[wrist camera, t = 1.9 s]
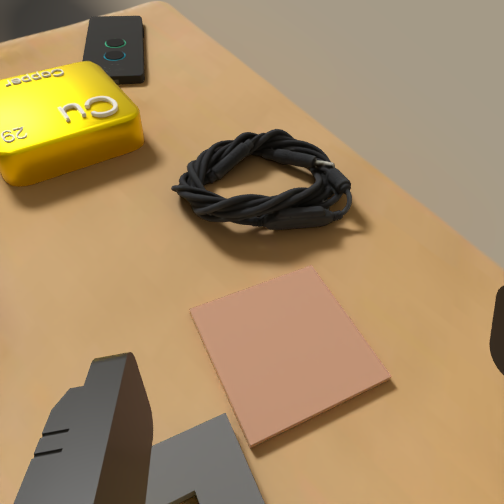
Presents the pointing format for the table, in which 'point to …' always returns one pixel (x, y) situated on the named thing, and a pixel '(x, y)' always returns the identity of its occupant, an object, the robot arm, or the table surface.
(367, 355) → the terracotta tile
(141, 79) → the smart home device
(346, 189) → the cable
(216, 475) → the socket block
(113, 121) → the element tile
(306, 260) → the table surface
